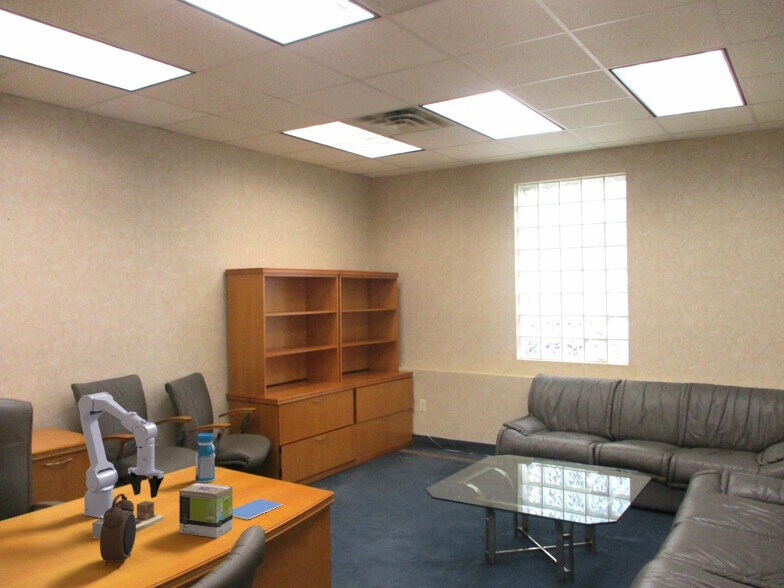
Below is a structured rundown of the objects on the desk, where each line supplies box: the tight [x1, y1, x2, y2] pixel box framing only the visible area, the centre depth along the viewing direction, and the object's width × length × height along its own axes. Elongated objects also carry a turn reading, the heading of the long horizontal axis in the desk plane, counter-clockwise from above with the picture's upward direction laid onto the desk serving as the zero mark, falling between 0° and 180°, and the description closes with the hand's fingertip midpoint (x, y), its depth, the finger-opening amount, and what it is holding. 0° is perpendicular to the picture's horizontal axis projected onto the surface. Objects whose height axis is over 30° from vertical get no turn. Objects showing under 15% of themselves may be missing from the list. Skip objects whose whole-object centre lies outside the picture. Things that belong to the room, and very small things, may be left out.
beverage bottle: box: [194, 432, 216, 484], centre depth 270 cm, size 8×8×20 cm
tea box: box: [178, 482, 234, 539], centre depth 212 cm, size 15×10×15 cm, turn 71°
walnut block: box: [136, 500, 155, 520], centre depth 222 cm, size 4×4×5 cm
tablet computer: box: [232, 498, 284, 521], centre depth 234 cm, size 19×13×1 cm, turn 149°
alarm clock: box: [99, 493, 137, 569], centre depth 188 cm, size 15×7×20 cm, turn 4°
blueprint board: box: [134, 514, 165, 533], centre depth 218 cm, size 10×14×1 cm
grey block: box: [91, 518, 103, 539], centre depth 208 cm, size 4×4×5 cm
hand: (145, 495), depth 222 cm, fingers open, 7 cm apart
